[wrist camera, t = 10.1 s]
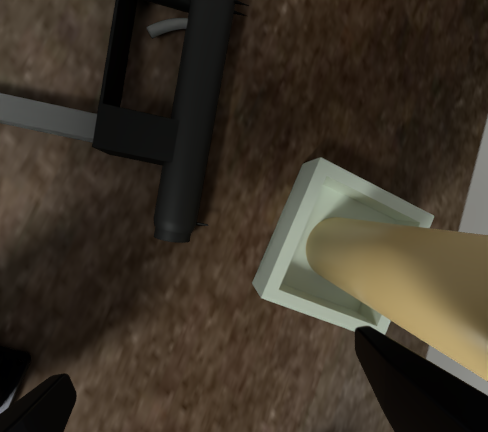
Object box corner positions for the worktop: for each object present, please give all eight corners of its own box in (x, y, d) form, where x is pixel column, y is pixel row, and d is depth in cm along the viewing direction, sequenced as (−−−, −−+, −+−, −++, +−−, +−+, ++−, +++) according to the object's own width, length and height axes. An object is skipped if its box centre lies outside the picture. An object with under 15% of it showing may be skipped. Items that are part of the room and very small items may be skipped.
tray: (357, 322, 22) (382, 341, 19) (252, 283, 20) (261, 297, 17) (403, 213, 22) (434, 216, 19) (302, 163, 20) (320, 157, 17)
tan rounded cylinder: (347, 287, 20) (648, 464, 7) (295, 266, 19) (526, 425, 6) (371, 231, 21) (717, 293, 7) (320, 207, 19) (609, 223, 6)
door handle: (-64, 206, 14) (206, 249, 16) (-16, -143, 13) (260, -53, 15) (-10, 205, 17) (208, 241, 19) (31, -73, 16) (252, -7, 18)
